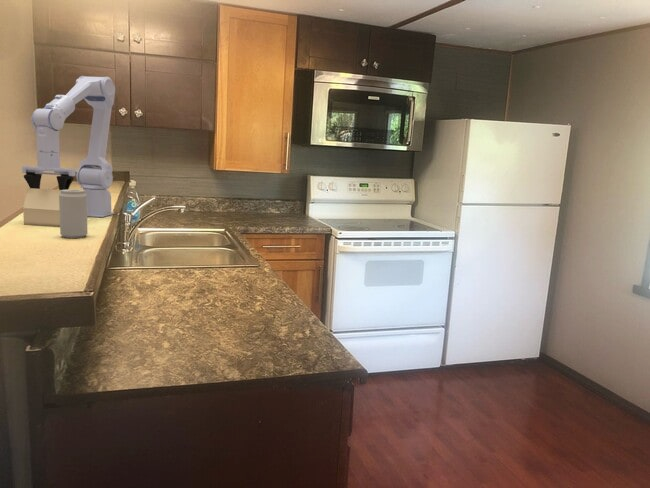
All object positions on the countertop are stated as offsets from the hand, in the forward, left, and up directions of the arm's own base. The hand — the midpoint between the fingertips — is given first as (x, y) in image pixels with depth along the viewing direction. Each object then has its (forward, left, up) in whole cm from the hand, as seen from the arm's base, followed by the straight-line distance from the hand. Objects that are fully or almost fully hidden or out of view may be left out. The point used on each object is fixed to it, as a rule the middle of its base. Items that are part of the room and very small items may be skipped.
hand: (49, 200), depth 157 cm
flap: (+3, 0, 0) cm, 3 cm away
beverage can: (+17, +16, -7) cm, 24 cm away
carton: (+1, 0, -7) cm, 7 cm away
